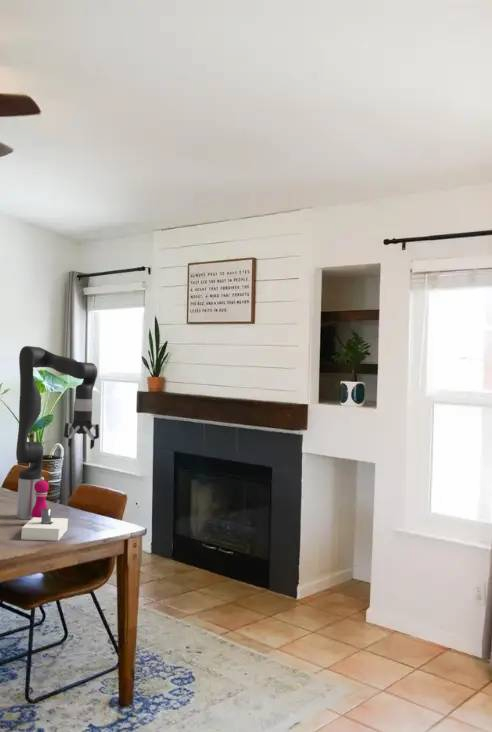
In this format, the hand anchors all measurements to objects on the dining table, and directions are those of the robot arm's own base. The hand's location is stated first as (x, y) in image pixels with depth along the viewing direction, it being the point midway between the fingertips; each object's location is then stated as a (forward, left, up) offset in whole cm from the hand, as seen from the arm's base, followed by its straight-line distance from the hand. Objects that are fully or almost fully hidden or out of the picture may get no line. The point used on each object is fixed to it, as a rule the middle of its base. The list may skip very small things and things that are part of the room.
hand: (81, 448), depth 301 cm
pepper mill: (-3, -16, -33) cm, 37 cm away
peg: (+15, -10, -33) cm, 38 cm away
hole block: (+15, -10, -33) cm, 38 cm away
